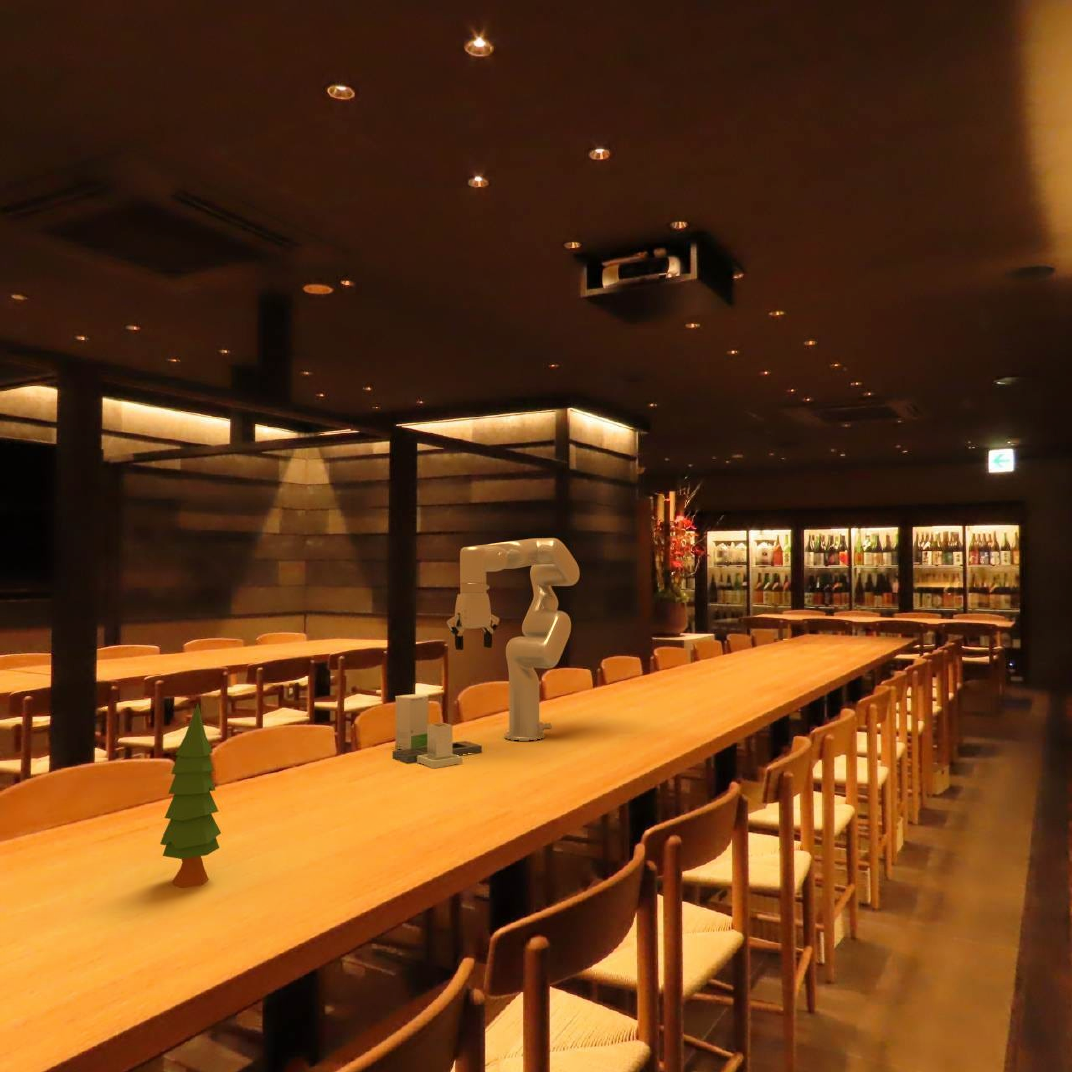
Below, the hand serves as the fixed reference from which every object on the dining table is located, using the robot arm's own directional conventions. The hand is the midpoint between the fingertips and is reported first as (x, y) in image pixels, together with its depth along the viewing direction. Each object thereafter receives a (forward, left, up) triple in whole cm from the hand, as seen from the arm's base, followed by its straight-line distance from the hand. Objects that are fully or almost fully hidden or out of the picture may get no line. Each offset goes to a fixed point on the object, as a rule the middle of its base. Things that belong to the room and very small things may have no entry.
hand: (473, 648), depth 259 cm
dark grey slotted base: (+10, -4, -30) cm, 32 cm away
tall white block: (+15, +6, -30) cm, 34 cm away
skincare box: (+11, -17, -30) cm, 36 cm away
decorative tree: (+96, +61, -30) cm, 118 cm away
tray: (+15, +6, -30) cm, 34 cm away
